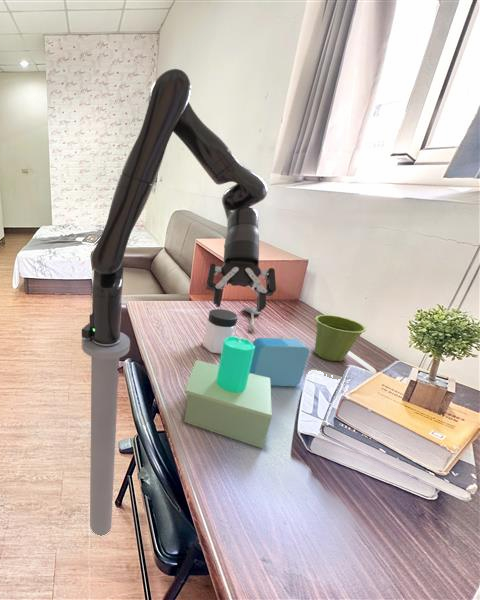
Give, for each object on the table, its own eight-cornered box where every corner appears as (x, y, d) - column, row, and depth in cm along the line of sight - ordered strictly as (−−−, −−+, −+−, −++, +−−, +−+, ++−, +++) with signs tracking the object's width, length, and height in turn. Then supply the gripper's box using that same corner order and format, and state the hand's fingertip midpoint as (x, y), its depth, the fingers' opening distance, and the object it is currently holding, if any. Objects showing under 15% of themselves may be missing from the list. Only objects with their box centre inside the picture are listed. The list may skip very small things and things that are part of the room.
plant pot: (359, 370, 88) (373, 335, 84) (309, 360, 93) (320, 327, 89) (346, 350, 98) (358, 318, 94) (302, 343, 103) (311, 312, 99)
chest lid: (184, 393, 68) (185, 390, 67) (195, 362, 79) (195, 359, 78) (271, 418, 60) (271, 415, 60) (269, 380, 71) (270, 378, 71)
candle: (244, 396, 65) (255, 346, 61) (214, 386, 68) (222, 338, 64) (247, 381, 70) (257, 334, 66) (218, 373, 73) (227, 327, 68)
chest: (184, 422, 70) (188, 394, 67) (194, 388, 81) (198, 363, 78) (262, 448, 63) (271, 418, 60) (262, 407, 74) (269, 381, 71)
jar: (224, 357, 95) (231, 322, 90) (199, 348, 100) (204, 314, 96) (235, 347, 101) (242, 313, 96) (210, 338, 106) (216, 306, 102)
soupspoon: (260, 313, 127) (242, 311, 130) (261, 305, 126) (243, 303, 129) (261, 333, 109) (240, 330, 112) (262, 325, 108) (241, 322, 111)
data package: (289, 376, 86) (300, 338, 81) (299, 387, 81) (311, 347, 77) (245, 375, 86) (253, 337, 82) (252, 385, 82) (261, 345, 78)
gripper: (212, 237, 74) (207, 297, 69) (279, 240, 70) (280, 305, 64) (208, 253, 81) (203, 310, 75) (269, 257, 77) (269, 318, 71)
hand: (238, 308), depth 70 cm, fingers open, 8 cm apart
